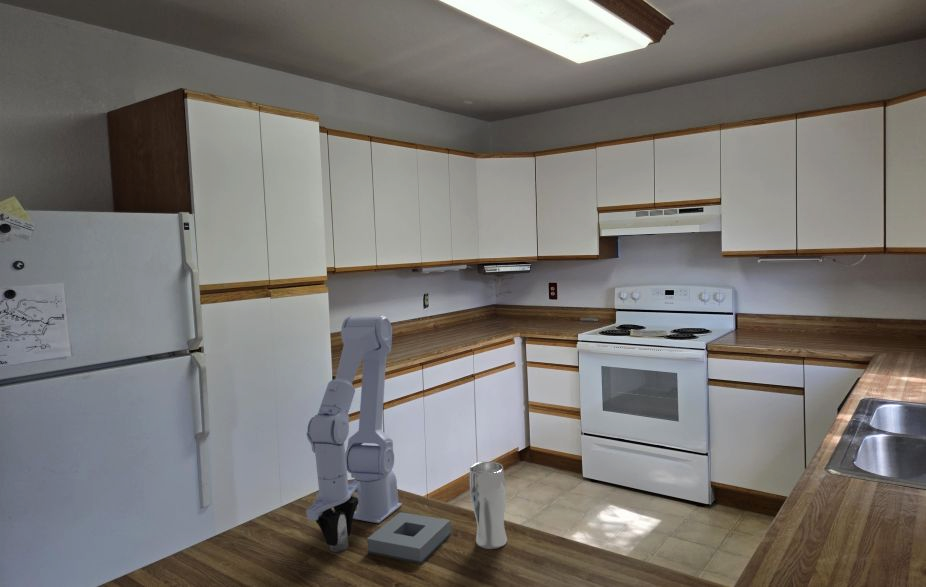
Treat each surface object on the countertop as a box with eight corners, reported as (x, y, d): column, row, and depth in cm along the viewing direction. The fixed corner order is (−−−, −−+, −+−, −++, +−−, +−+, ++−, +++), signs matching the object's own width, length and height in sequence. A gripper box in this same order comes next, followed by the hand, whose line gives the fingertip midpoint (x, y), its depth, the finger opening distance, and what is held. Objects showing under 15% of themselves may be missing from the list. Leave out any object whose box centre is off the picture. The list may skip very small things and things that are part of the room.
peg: (337, 541, 127) (334, 508, 126) (352, 544, 126) (349, 511, 125) (326, 550, 124) (323, 516, 123) (341, 553, 122) (337, 519, 122)
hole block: (401, 525, 132) (400, 512, 132) (451, 534, 127) (450, 520, 126) (368, 553, 122) (366, 538, 121) (421, 564, 116) (419, 548, 116)
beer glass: (515, 544, 121) (510, 469, 119) (482, 553, 118) (476, 477, 117) (500, 529, 127) (495, 458, 126) (468, 538, 125) (463, 465, 123)
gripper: (339, 458, 132) (345, 520, 133) (291, 485, 119) (298, 553, 120) (366, 462, 128) (372, 525, 130) (320, 490, 115) (327, 560, 117)
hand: (338, 539), depth 125 cm, fingers closed on peg, 4 cm apart
